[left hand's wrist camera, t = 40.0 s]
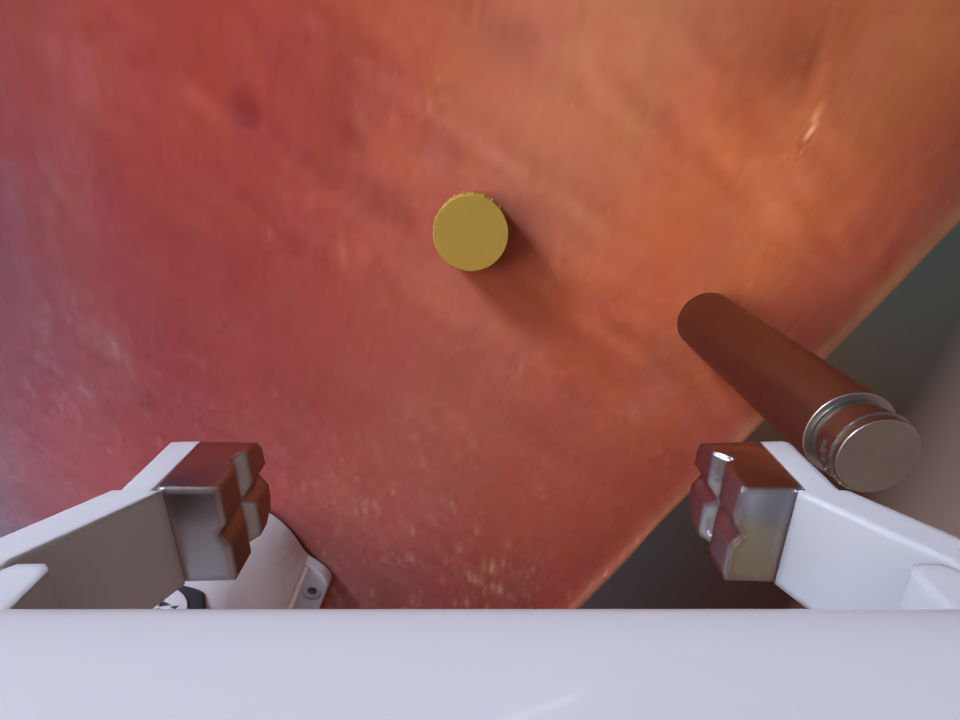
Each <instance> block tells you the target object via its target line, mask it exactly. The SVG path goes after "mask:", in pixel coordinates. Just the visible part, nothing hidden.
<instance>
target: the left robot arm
mask: <svg viewBox="0 0 960 720" xmlns="http://www.w3.org/2000/svg"><path fill="white" fill-rule="evenodd" d="M264 465H265V461H264V456H263V451H262V448H261V447H260V446H259V445H258V443H242V442H201V441H191V442H173V443H170V444H169V445H168V446H167V447H166V448H165V449H164V450H163V451H162V452H161V453H160V454H159V455H158V456H157V457H156V458H155V459H154V460H153V461H151V462H150V463H149V464H148V465H147V466H146V467H145V468H144V469H143V470H142V471H141V472H140V473H139V474H138V475H137V476H136V477H135V478H134V479H133V480H132V481H131V482H130V483H129V484H128V485H127V486H125V487H124V488H123V489H122V490H116V491H110V492H108V493H105V494H103V495H101V496H98V497H96V498H93V499H91V500H89V501H86V502H84V503H82V504H79V505H77V506H75V507H72V508H70V509H68V510H65V511H63V512H61V513H58V514H56V515H53V516H51V517H49V518H46V519H44V520H42V521H39V522H37V523H35V524H32V525H30V526H28V527H25V528H23V529H21V530H18V531H16V532H13V533H11V534H9V535H6V536H4V537H2V538H0V720H960V538H958V537H956V536H953V535H951V534H949V533H946V532H944V531H942V530H939V529H937V528H934V527H932V526H930V525H927V524H925V523H923V522H920V521H918V520H916V519H913V518H911V517H909V516H906V515H904V514H902V513H899V512H897V511H895V510H892V509H890V508H888V507H885V506H883V505H881V504H878V503H876V502H874V501H871V500H869V499H866V498H864V497H862V496H859V495H857V494H855V493H852V492H850V491H844V490H843V491H842V490H838V489H837V488H836V487H835V486H833V485H832V484H831V483H830V482H829V481H828V480H827V479H826V478H825V477H824V476H823V475H822V474H821V473H820V472H819V471H818V470H817V469H816V468H815V467H814V466H813V465H812V464H811V463H810V462H809V461H808V460H807V459H806V458H804V457H803V456H802V455H801V454H800V453H799V452H798V451H797V450H796V449H795V448H794V447H793V446H792V445H791V444H790V443H787V442H784V441H773V442H735V443H705V444H701V445H700V447H699V449H698V451H697V455H696V460H695V465H696V466H697V468H698V469H699V471H700V472H701V475H700V476H699V477H698V478H697V479H696V480H695V481H694V482H693V483H692V484H691V491H690V499H689V502H690V513H691V517H692V521H693V524H694V526H695V528H696V530H697V532H698V534H699V535H700V536H701V537H703V538H704V539H706V540H708V541H709V542H711V543H710V548H709V554H710V556H711V557H712V559H713V561H714V563H715V564H716V566H717V568H718V570H719V571H720V573H721V575H722V577H723V578H724V580H744V581H775V584H776V585H777V586H778V587H780V588H781V589H782V590H784V591H785V592H786V593H788V594H789V595H790V596H792V597H793V598H794V599H795V600H797V601H798V602H799V603H801V604H802V605H803V606H805V607H806V608H807V609H320V607H321V604H322V602H323V599H324V597H325V594H326V592H327V589H328V587H329V584H330V582H331V578H332V575H331V572H330V571H329V570H328V568H326V567H325V566H324V565H323V564H322V563H320V562H319V561H318V560H316V559H315V558H313V557H312V556H310V555H309V554H308V553H307V552H306V551H305V550H304V549H303V547H302V546H301V544H300V543H299V541H298V540H297V538H296V537H295V536H294V534H293V533H292V532H291V531H290V529H289V528H288V527H287V526H286V525H285V524H284V523H282V522H281V521H280V520H279V519H278V518H276V517H275V516H274V515H272V514H271V513H269V512H270V490H269V484H268V483H267V482H266V481H265V480H264V479H263V478H262V477H261V476H260V475H259V472H260V471H261V469H262V468H263V466H264ZM311 587H313V588H311ZM314 588H315V589H314Z"/></svg>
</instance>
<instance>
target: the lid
mask: <svg viewBox="0 0 960 720" xmlns="http://www.w3.org/2000/svg"><path fill="white" fill-rule="evenodd" d="M505 217H506V215H505V213H503V211H502V210H501V207H500V205H498V204H497V203H496V202H495V201H494V200H493V198H489V197H488V196H486V195H485V194H484V193H483V194H480V193H475V191H473V192H467V193H465V192H463V193H462V194H459V195H456V194H455V195H454V197H452V198H451V199H450V200H446V202H445V204H444V205H443V207H442V208H441V207H440V209H439V213H438V215H437V216H436V217H435V219H434V221H435V222H434V227H433V229H432V231H433V241H434V243H435V246H436V249H437V251H438V253H439V254H440V256H441V257H442V258H443V259H444V260H445V261H446V262H447V263H448V264H449V265H451V266H453V267H455V268H457V269H460V270H463V271H478V270H482V269H485V268H487V267H489V266H491V265H492V264H494V263H495V262H496V261H497V260H498V259H499V258H500V257H501V256H502V254H503V252H504V250H505V248H506V247H507V241H508V237H509V234H508V227H509V225H508V222H506V219H505Z"/></svg>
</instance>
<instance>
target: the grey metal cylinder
mask: <svg viewBox="0 0 960 720" xmlns="http://www.w3.org/2000/svg"><path fill="white" fill-rule="evenodd" d="M677 325H678V331H679V334H680V336H681V337H682V339H683V340H684V341H685V342H686V343H687V344H688V345H689V346H690V347H691V348H692V349H693V350H694V351H695V352H696V353H697V354H699V355H700V356H701V357H702V358H703V359H704V360H705V361H706V362H707V363H708V364H709V365H710V366H711V367H712V368H713V369H714V370H715V371H716V372H717V373H718V374H719V375H720V376H721V377H722V378H723V379H724V380H725V381H726V382H727V383H728V384H729V385H730V386H731V387H732V388H733V389H735V390H736V391H737V392H738V393H739V394H740V395H741V396H742V397H743V398H744V399H745V400H746V401H747V402H748V403H749V404H750V405H751V406H752V407H753V408H754V409H755V410H756V411H757V412H758V413H759V414H760V415H761V416H762V417H763V418H764V419H765V420H766V421H767V422H769V424H771V425H772V426H773V427H774V428H775V429H776V430H777V431H778V432H779V433H780V434H781V435H782V436H783V437H784V438H785V439H786V440H787V441H788V442H789V443H790V444H791V445H792V446H793V447H794V448H795V449H796V450H797V451H798V452H799V453H800V454H801V455H802V456H803V457H804V458H806V459H807V460H808V461H809V462H810V463H811V464H812V465H813V466H814V467H816V468H818V469H820V470H822V471H825V472H827V473H828V474H829V475H830V476H831V477H833V478H834V479H835V480H836V481H837V483H839V484H840V485H842V486H843V487H845V488H847V489H849V490H853V491H857V492H870V493H871V492H876V491H881V490H882V491H883V490H885V489H887V488H890V487H892V486H895V485H897V484H898V483H900V482H901V481H903V480H904V479H905V478H906V477H907V476H908V475H909V474H910V473H911V472H912V471H913V470H914V468H915V467H916V465H917V464H918V462H919V459H920V457H921V453H922V441H921V438H920V435H919V433H918V432H917V430H916V429H915V428H914V427H913V426H912V425H911V424H910V422H909V421H908V420H907V419H906V418H904V417H903V416H901V415H900V414H898V413H896V412H895V410H894V408H893V406H892V405H891V404H890V403H889V402H888V401H887V400H886V399H885V398H883V397H882V396H880V395H879V394H877V393H875V392H874V391H872V390H871V389H869V388H868V387H866V386H864V385H863V384H861V383H860V382H858V381H857V380H855V379H853V378H852V377H850V376H849V375H847V374H846V373H844V372H842V371H841V370H839V369H838V368H836V367H835V366H833V365H831V364H830V363H828V362H827V361H825V360H823V359H822V358H820V357H819V356H817V355H816V354H814V353H812V352H811V351H809V350H808V349H806V348H805V347H803V346H801V345H800V344H798V343H797V342H795V341H794V340H792V339H790V338H789V337H787V336H786V335H784V334H782V333H781V332H779V331H778V330H776V329H775V328H773V327H771V326H770V325H768V324H767V323H765V322H764V321H762V320H760V319H759V318H757V317H756V316H754V315H752V314H751V313H749V312H748V311H746V310H745V309H743V308H741V307H740V306H738V305H737V304H735V303H734V302H732V301H730V300H729V299H727V298H726V297H724V296H722V295H720V294H716V293H705V294H701V295H698V296H696V297H694V298H692V299H691V300H690V301H689V302H687V303H686V304H685V306H684V307H683V308H682V310H681V312H680V314H679V317H678V323H677Z"/></svg>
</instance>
